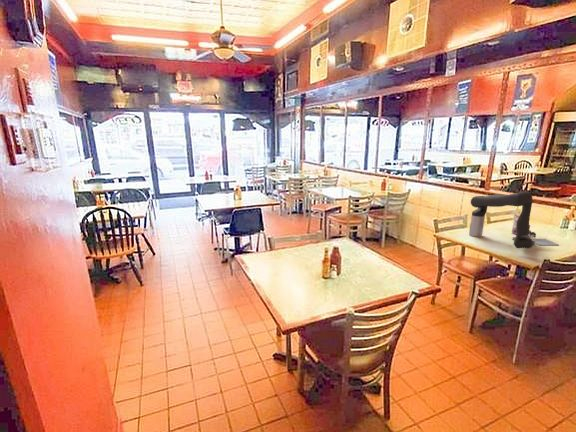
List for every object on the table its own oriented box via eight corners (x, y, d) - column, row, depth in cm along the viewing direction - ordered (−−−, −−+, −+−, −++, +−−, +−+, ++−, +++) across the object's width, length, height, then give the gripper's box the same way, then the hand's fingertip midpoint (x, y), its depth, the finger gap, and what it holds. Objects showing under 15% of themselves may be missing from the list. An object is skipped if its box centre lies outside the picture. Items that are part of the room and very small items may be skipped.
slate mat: (526, 239, 247) (526, 238, 246) (545, 239, 246) (545, 238, 245) (539, 245, 233) (539, 244, 233) (558, 245, 232) (558, 244, 232)
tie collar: (510, 239, 248) (510, 236, 247) (523, 239, 247) (524, 236, 246) (520, 244, 236) (521, 241, 235) (534, 244, 235) (534, 241, 235)
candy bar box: (511, 232, 263) (514, 214, 258) (517, 232, 262) (520, 214, 258) (520, 237, 252) (523, 217, 248) (526, 237, 252) (530, 217, 247)
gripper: (537, 233, 222) (537, 227, 235) (513, 230, 231) (514, 224, 244) (535, 243, 224) (535, 237, 237) (511, 239, 233) (512, 233, 246)
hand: (524, 230), depth 240 cm, fingers closed on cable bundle, 5 cm apart
